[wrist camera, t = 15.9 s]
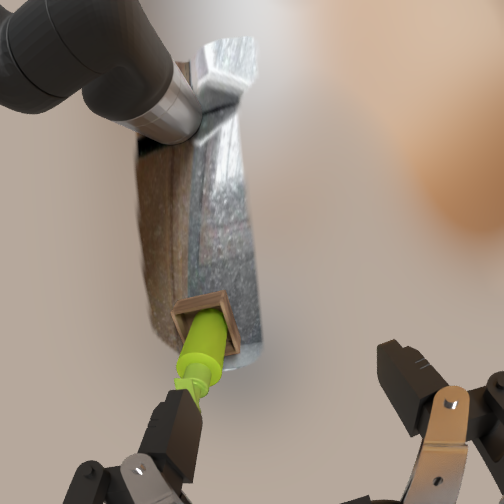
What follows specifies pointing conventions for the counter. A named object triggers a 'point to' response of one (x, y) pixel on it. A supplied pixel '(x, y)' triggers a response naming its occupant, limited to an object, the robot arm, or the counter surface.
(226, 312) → the walnut caddy
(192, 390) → the soap dispenser
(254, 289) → the counter surface
